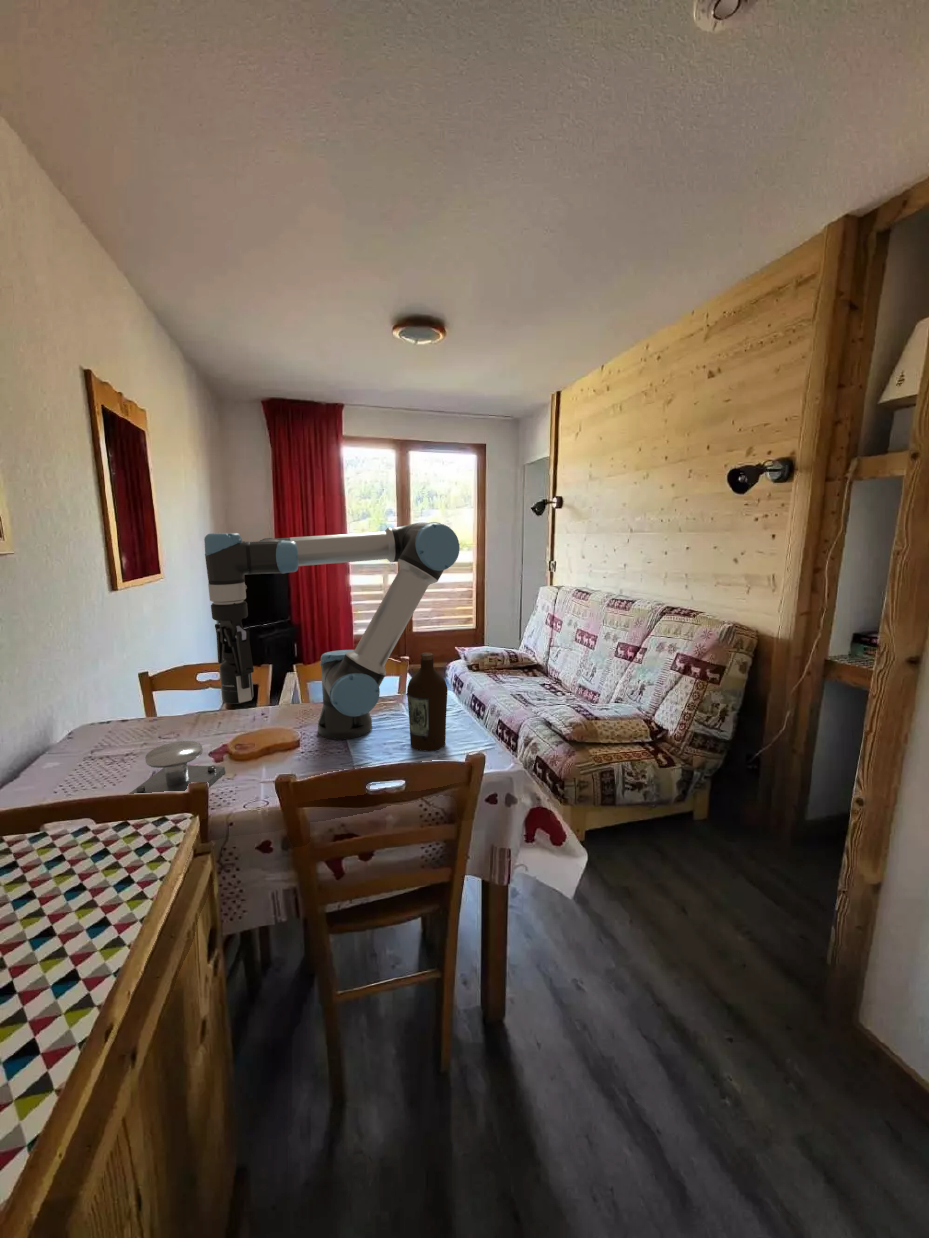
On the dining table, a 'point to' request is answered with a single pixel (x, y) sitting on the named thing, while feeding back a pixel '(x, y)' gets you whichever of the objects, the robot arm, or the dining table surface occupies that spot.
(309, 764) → the dining table surface
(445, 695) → the olive oil
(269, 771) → the dining table surface
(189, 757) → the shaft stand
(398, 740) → the dining table surface
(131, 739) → the dining table surface
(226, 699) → the supplement bottle
